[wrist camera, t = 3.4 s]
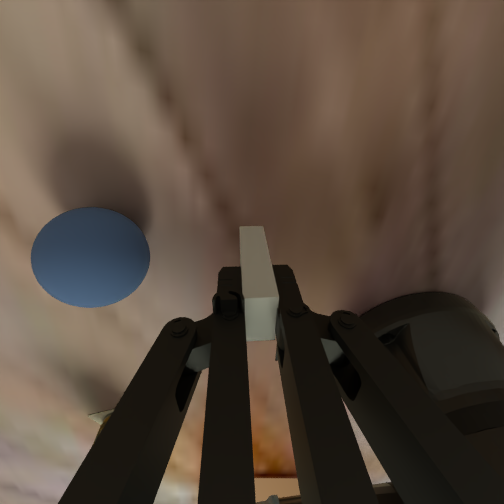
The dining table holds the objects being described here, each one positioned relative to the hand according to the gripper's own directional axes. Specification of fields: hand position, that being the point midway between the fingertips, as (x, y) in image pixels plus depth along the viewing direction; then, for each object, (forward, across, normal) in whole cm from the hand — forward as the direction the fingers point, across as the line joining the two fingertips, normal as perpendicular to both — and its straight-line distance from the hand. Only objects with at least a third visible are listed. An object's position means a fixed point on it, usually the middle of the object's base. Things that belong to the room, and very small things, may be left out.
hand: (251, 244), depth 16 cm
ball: (-1, +10, 0) cm, 10 cm away
